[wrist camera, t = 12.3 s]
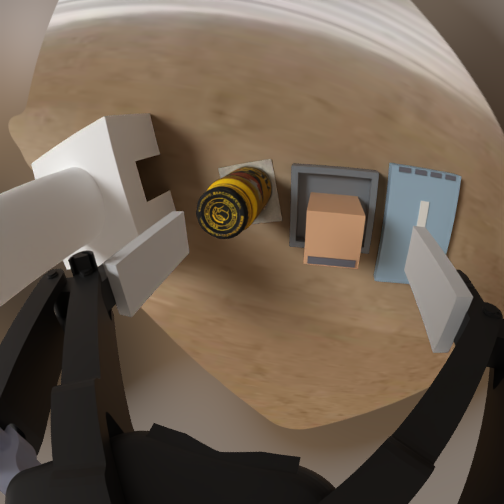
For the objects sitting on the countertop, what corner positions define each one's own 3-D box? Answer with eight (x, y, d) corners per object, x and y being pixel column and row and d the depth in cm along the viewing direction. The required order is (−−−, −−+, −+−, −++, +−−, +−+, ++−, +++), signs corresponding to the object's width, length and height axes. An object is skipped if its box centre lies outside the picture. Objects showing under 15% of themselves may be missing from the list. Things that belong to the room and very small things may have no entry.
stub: (310, 192, 35) (306, 211, 28) (357, 196, 34) (365, 216, 27) (308, 236, 38) (303, 264, 31) (352, 240, 36) (357, 269, 29)
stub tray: (293, 163, 35) (291, 165, 33) (376, 170, 32) (378, 173, 30) (291, 240, 39) (289, 246, 37) (366, 247, 37) (368, 253, 35)
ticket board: (389, 162, 31) (392, 164, 30) (456, 174, 29) (461, 176, 27) (373, 275, 38) (375, 281, 37) (433, 280, 36) (437, 286, 34)
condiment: (271, 158, 35) (246, 175, 25) (282, 220, 38) (264, 260, 28) (218, 168, 37) (176, 188, 27) (232, 226, 41) (198, 265, 30)
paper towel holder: (149, 113, 36) (-51, 150, 10) (182, 230, 43) (35, 366, 17) (72, 151, 42) (-71, 207, 16) (102, 244, 49) (-18, 337, 23)
